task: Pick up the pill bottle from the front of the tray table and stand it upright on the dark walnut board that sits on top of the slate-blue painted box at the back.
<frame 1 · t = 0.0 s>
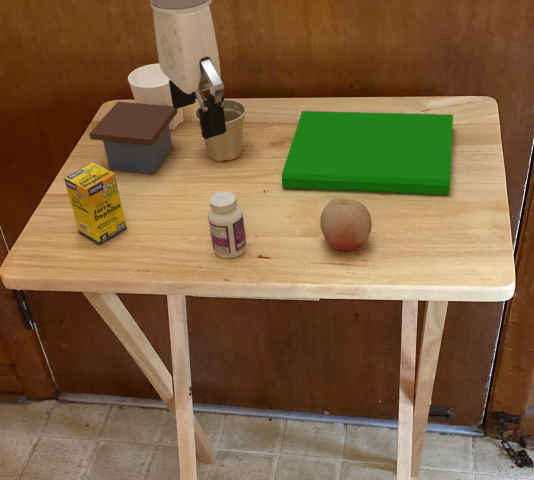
hand: (199, 119, 108), 26 cm above the table, tool pointing down, fingers open, 9 cm apart
book: (370, 159, 146), on the table
cup: (162, 122, 162), on the table
fruit: (345, 245, 128), on the table
supplement box: (103, 232, 136), on the table
stand: (141, 159, 152), on the table
pill bottle: (230, 250, 129), on the table
flower pot: (225, 154, 151), on the table
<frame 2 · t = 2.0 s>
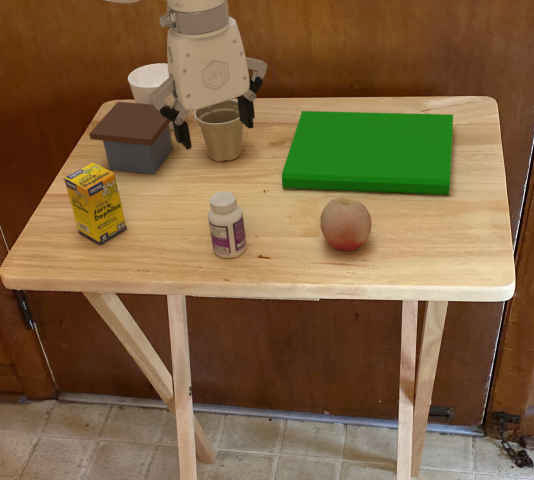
hand: (216, 134, 115), 20 cm above the table, tool pointing down, fingers open, 9 cm apart
nothing on the table moved.
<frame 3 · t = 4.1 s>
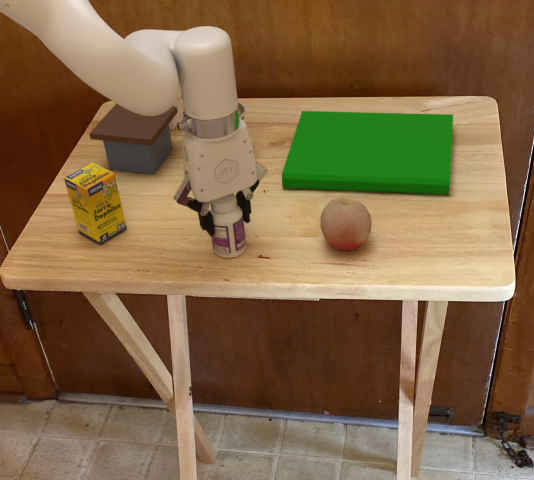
hand: (226, 224, 126), 5 cm above the table, tool pointing down, fingers closed on pill bottle, 5 cm apart
pill bottle: (230, 250, 129), on the table, touching gripper
everything else where it was.
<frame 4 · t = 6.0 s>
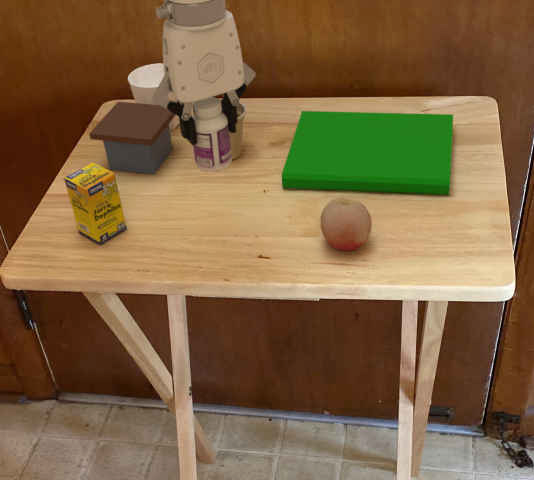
hand: (210, 133, 116), 20 cm above the table, tool pointing down, fingers closed on pill bottle, 5 cm apart
pill bottle: (213, 164, 119), point 15 cm above the table, touching gripper
everything else where it was.
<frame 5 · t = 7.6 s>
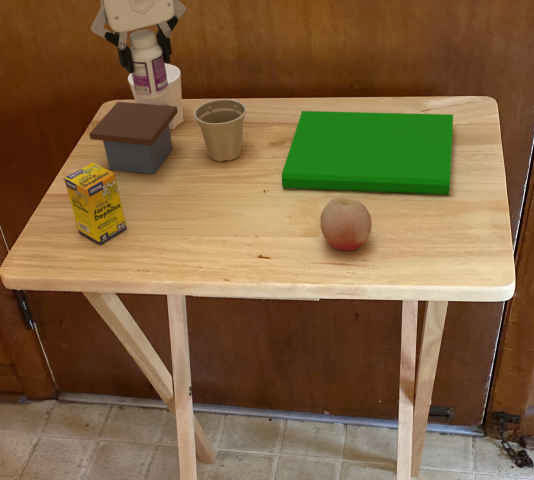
hand: (147, 64, 128), 23 cm above the table, tool pointing down, fingers closed on pill bottle, 5 cm apart
pill bottle: (152, 94, 131), point 18 cm above the table, touching gripper
everything else where it was.
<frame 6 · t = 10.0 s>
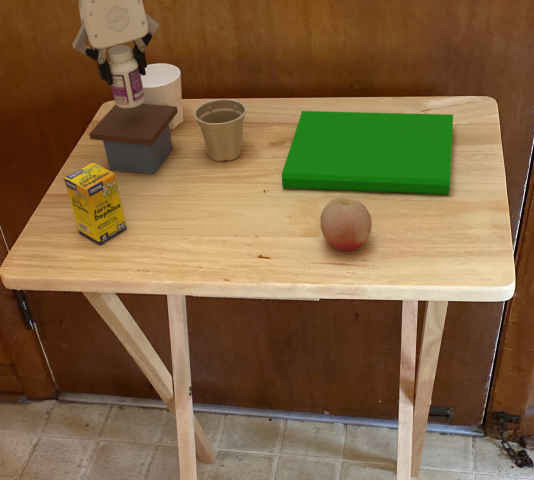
hand: (124, 76, 141), 17 cm above the table, tool pointing down, fingers closed on pill bottle, 5 cm apart
pill bottle: (130, 103, 144), point 11 cm above the table, touching gripper
everything else where it was.
when the fingers open (13 cm above the table, at t = 11.3 s): pill bottle stays where it is, resting on stand.
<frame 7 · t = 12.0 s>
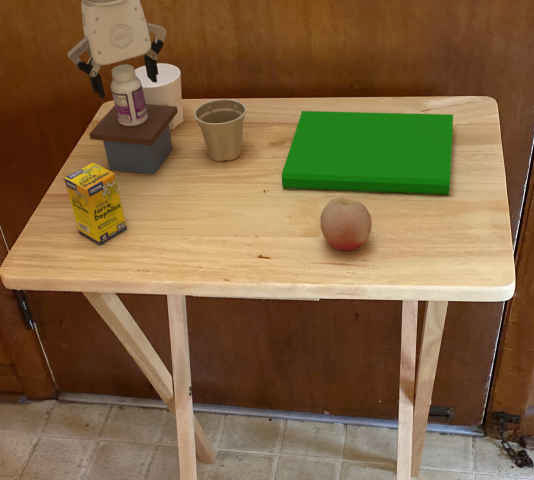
hand: (126, 87, 142), 14 cm above the table, tool pointing down, fingers open, 9 cm apart
pill bottle: (133, 120, 146), point 8 cm above the table, touching stand
everything else where it was.
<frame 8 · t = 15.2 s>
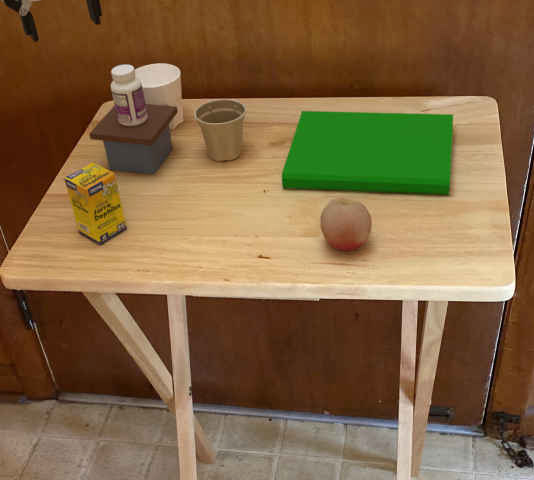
hand: (65, 30, 122), 30 cm above the table, tool pointing down, fingers open, 9 cm apart
nothing on the table moved.
at the end: pill bottle inside the target area on the stand (0.1 cm from its centre), point 8.0 cm above the stand's base; pill bottle tilted 0°; the gripper is holding nothing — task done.
